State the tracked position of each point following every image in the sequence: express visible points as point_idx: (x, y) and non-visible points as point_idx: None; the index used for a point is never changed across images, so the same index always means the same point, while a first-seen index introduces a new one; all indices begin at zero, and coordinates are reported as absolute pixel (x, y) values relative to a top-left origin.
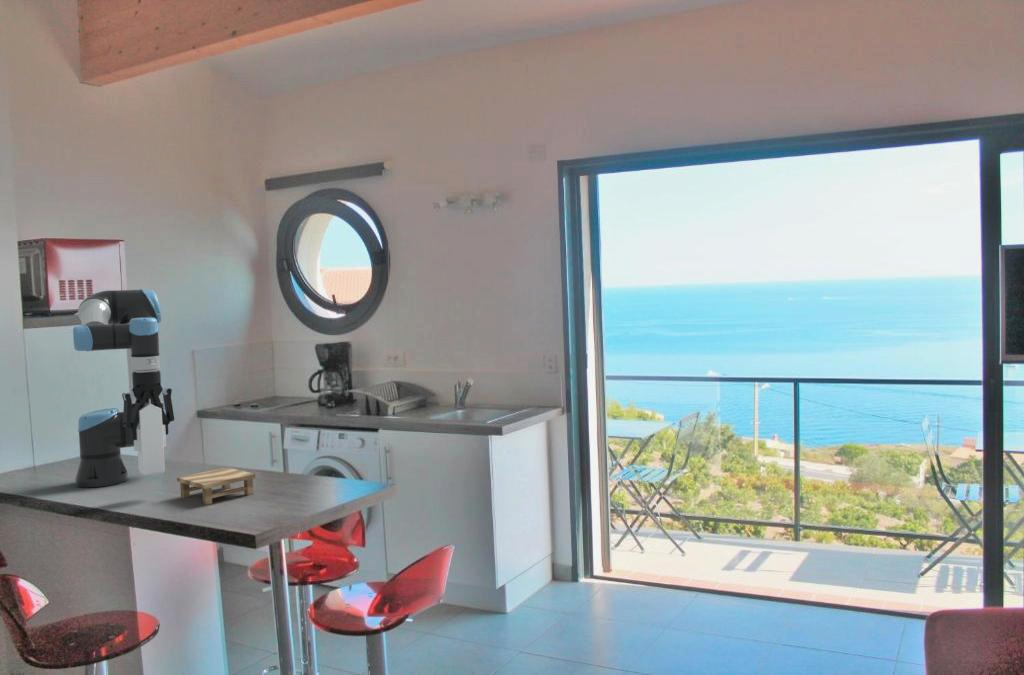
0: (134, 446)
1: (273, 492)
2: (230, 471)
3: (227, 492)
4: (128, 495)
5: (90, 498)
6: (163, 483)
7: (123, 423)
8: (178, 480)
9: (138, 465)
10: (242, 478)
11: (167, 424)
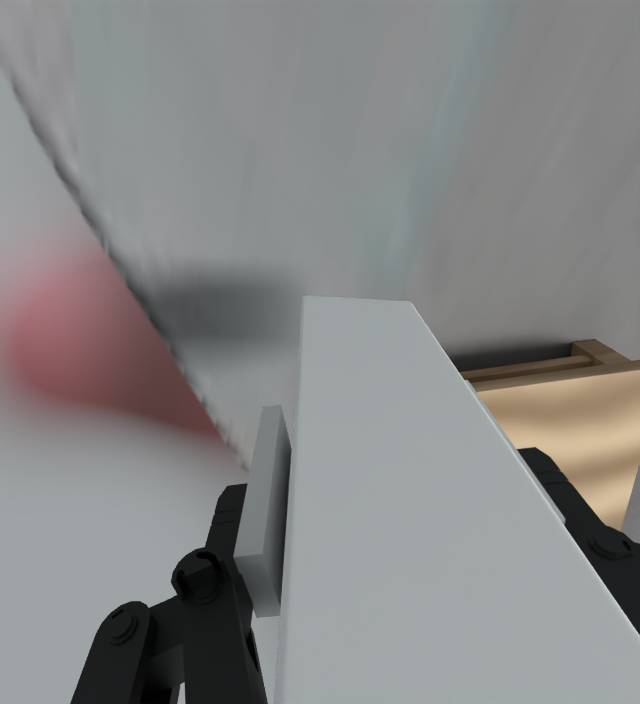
0: (260, 429)
1: None
2: (610, 446)
3: None
4: (279, 165)
5: (119, 74)
6: (493, 6)
7: (94, 671)
8: None
9: (301, 310)
10: None
11: None
